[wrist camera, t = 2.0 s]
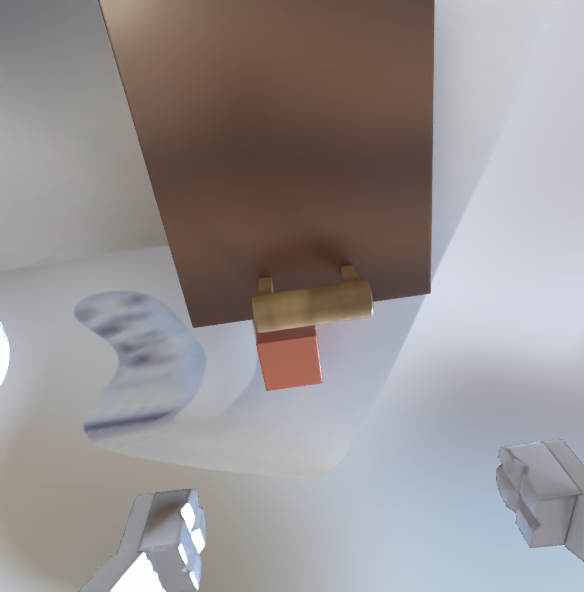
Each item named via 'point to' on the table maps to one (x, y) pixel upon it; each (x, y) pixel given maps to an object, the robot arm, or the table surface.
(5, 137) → the table surface
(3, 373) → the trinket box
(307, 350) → the block
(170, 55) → the lid
